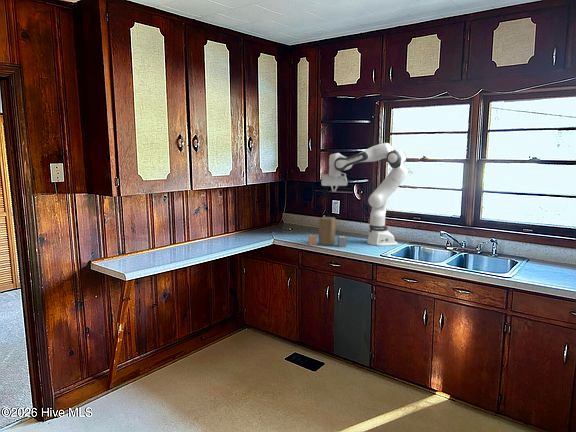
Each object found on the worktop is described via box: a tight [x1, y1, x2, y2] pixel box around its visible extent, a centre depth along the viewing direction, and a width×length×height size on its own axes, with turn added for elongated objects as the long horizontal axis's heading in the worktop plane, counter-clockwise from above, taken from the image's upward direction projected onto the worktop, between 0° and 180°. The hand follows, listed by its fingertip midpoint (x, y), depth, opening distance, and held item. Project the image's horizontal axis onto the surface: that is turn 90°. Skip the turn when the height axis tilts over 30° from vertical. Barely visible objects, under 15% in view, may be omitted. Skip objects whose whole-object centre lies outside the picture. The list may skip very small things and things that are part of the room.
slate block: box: [337, 235, 347, 248], centre depth 308 cm, size 5×5×8 cm
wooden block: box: [318, 216, 337, 247], centre depth 313 cm, size 10×10×20 cm
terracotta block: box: [308, 233, 317, 246], centre depth 312 cm, size 5×5×8 cm
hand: (334, 191), depth 331 cm, fingers closed
